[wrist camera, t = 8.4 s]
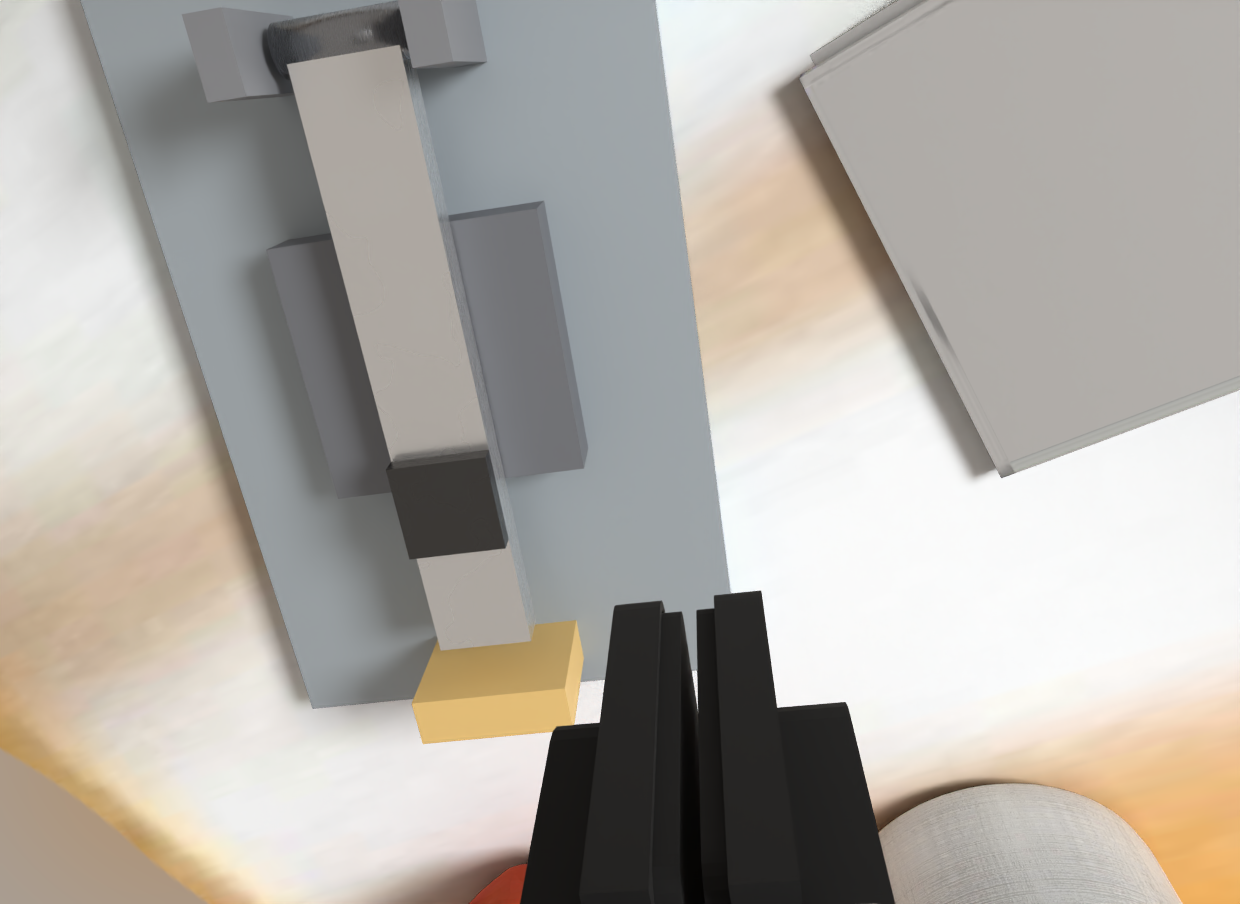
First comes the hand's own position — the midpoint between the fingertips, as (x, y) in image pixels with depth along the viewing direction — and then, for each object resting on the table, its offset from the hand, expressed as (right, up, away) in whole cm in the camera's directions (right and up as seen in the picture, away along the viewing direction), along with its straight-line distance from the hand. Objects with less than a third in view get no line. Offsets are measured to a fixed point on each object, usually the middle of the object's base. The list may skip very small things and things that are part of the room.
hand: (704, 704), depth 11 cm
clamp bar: (-7, +6, +18) cm, 20 cm away
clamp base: (-6, +6, +21) cm, 22 cm away
